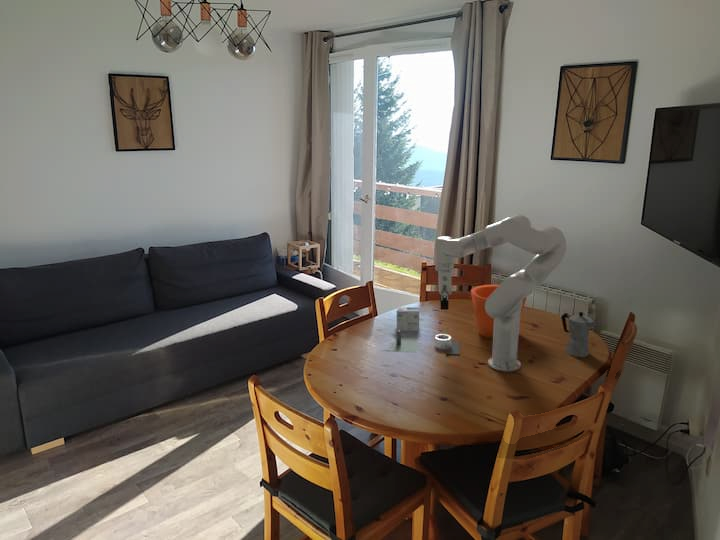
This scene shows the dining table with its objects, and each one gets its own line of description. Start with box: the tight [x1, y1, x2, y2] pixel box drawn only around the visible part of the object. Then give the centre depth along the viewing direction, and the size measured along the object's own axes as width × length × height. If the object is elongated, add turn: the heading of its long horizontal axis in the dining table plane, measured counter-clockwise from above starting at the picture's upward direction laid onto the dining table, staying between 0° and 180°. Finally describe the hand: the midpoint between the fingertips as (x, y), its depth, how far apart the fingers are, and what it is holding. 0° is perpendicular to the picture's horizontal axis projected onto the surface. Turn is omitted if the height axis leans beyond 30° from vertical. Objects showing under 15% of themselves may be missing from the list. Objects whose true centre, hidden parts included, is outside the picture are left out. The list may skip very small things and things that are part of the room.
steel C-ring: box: [434, 333, 452, 351], centre depth 222 cm, size 7×7×4 cm
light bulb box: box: [396, 306, 420, 332], centre depth 243 cm, size 11×7×11 cm, turn 84°
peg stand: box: [388, 330, 418, 353], centre depth 225 cm, size 16×16×7 cm
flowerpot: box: [470, 284, 528, 340], centre depth 236 cm, size 25×25×20 cm
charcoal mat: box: [444, 340, 461, 356], centre depth 223 cm, size 14×14×1 cm
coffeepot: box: [561, 311, 596, 358], centre depth 214 cm, size 15×9×18 cm, turn 33°
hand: (444, 305), depth 218 cm, fingers open, 9 cm apart
